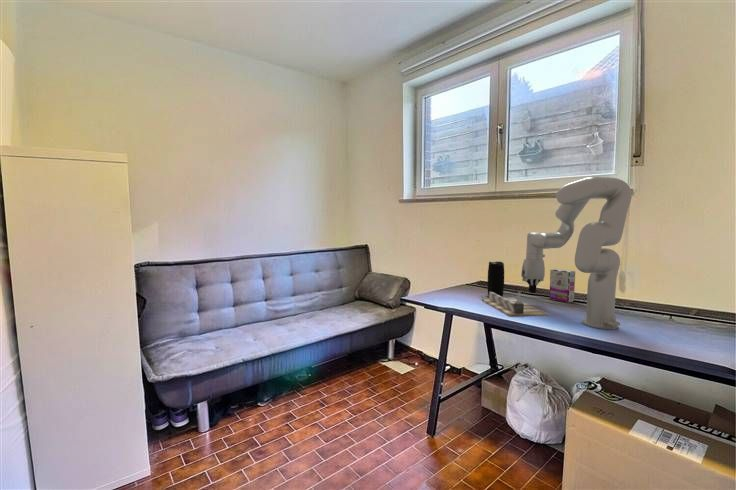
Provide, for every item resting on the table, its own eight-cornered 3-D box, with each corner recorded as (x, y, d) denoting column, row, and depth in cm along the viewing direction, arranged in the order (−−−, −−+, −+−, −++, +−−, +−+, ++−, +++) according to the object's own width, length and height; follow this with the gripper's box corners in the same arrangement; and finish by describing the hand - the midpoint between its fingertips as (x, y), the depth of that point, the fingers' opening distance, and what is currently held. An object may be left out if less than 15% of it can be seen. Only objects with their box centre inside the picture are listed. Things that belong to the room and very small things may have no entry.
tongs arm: (519, 311, 157) (519, 303, 156) (515, 310, 158) (515, 303, 157) (520, 299, 180) (521, 292, 179) (517, 298, 180) (517, 292, 180)
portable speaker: (497, 294, 197) (498, 260, 195) (507, 298, 187) (508, 263, 186) (483, 295, 195) (484, 261, 193) (492, 299, 186) (493, 263, 184)
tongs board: (547, 315, 155) (547, 303, 155) (509, 316, 154) (509, 304, 153) (513, 299, 185) (514, 289, 184) (481, 300, 183) (481, 290, 183)
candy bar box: (574, 302, 179) (576, 271, 177) (568, 303, 177) (569, 271, 175) (555, 297, 189) (556, 268, 187) (548, 298, 187) (550, 268, 185)
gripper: (544, 255, 176) (541, 290, 178) (516, 255, 175) (514, 291, 177) (553, 257, 169) (550, 294, 171) (524, 258, 168) (522, 294, 170)
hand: (532, 292), depth 174 cm, fingers closed
